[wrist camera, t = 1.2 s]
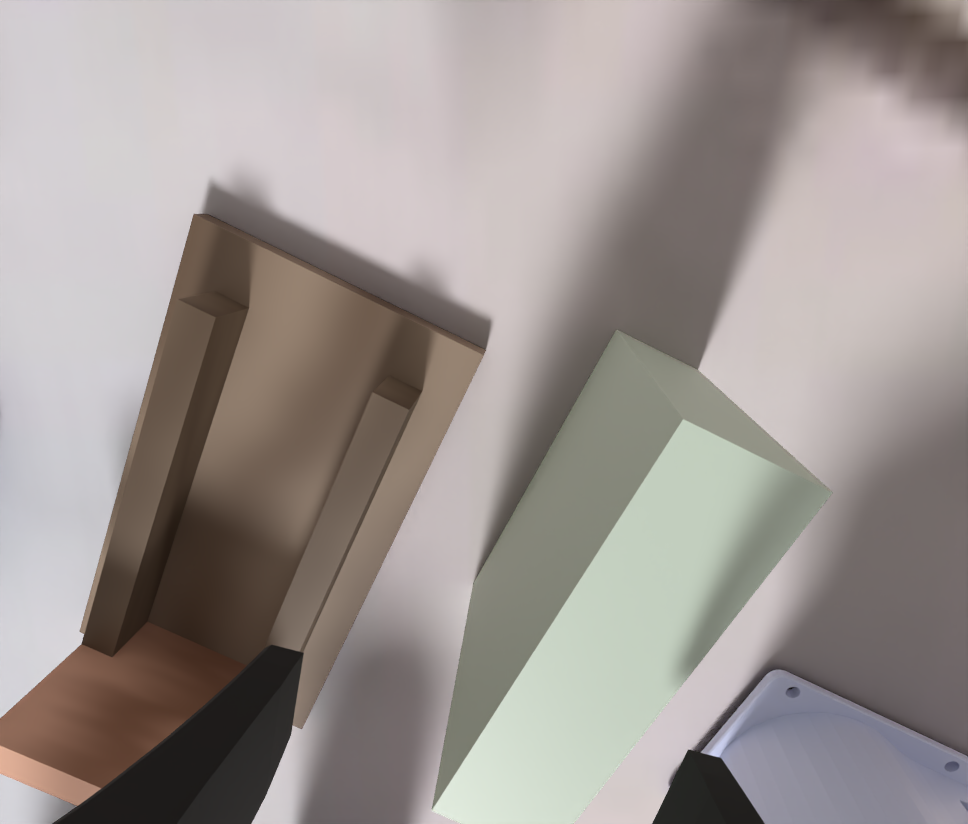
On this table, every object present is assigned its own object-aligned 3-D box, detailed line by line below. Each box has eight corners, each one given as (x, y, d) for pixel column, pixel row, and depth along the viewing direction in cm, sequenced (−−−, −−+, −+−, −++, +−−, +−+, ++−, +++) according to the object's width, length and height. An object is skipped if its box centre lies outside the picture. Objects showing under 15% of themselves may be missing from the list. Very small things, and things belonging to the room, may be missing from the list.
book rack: (485, 349, 19) (458, 414, 12) (309, 713, 25) (227, 886, 18) (208, 214, 18) (28, 208, 12) (94, 618, 24) (-69, 762, 18)
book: (697, 369, 18) (833, 492, 10) (542, 614, 22) (545, 860, 13) (615, 329, 18) (683, 418, 10) (473, 582, 22) (431, 810, 13)
